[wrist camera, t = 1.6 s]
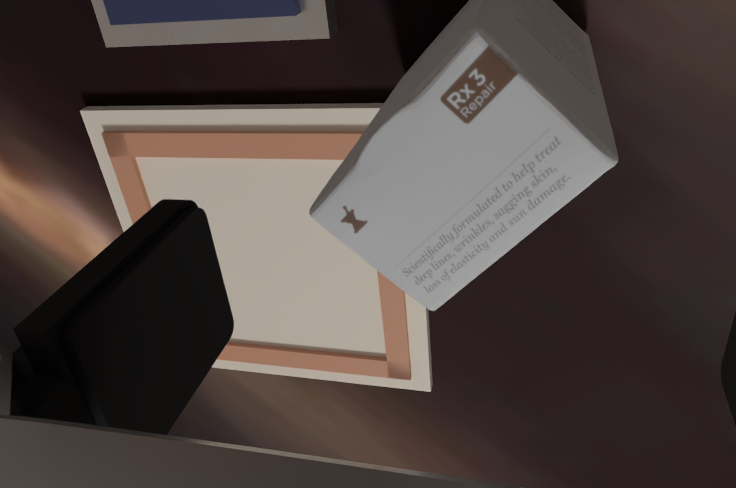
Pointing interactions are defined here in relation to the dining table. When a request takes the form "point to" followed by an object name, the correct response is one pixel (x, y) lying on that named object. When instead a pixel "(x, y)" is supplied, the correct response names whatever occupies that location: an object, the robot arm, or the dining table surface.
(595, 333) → the dining table surface
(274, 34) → the ink pad
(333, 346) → the white square board
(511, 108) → the skincare box
